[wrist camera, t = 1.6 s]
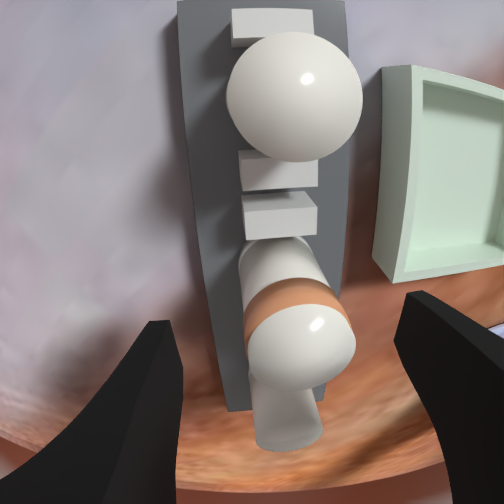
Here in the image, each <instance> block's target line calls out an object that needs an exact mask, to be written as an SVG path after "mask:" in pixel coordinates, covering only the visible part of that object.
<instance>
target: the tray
mask: <svg viewBox="0 0 504 504" xmlns="http://www.w3.org/2000/svg"><path fill="white" fill-rule="evenodd" d="M372 259H373V260H374V261H375V262H376V263H377V265H378V266H379V267H380V268H381V270H382V271H383V272H384V273H385V275H386V276H387V277H388V279H389V280H390V281H391V282H392V283H399V282H406V281H412V280H419V279H425V278H431V277H438V276H444V275H449V274H455V273H461V272H467V271H472V270H478V269H483V268H489V267H494V266H499V265H504V90H503V89H500V88H497V87H494V86H491V85H488V84H485V83H482V82H479V81H475V80H472V79H469V78H465V77H462V76H458V75H454V74H451V73H447V72H443V71H439V70H434V69H430V68H426V67H421V66H416V65H400V66H389V67H382V143H381V164H380V180H379V193H378V204H377V215H376V224H375V233H374V241H373V249H372Z"/></svg>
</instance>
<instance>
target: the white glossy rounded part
mask: <svg viewBox="0 0 504 504" xmlns="http://www.w3.org/2000/svg"><path fill="white" fill-rule="evenodd" d="M362 103H363V95H362V87H361V83H360V80H359V77H358V74H357V72H356V70H355V68H354V66H353V65H352V63H351V62H350V60H349V59H348V58H347V56H346V55H345V54H344V53H343V52H342V51H341V50H340V49H339V48H337V47H336V46H335V45H333V44H332V43H330V42H329V41H327V40H325V39H323V38H321V37H318V36H316V35H313V34H308V33H304V32H283V33H277V34H274V35H270V36H268V37H265V38H263V39H261V40H259V41H258V42H256V43H255V44H253V45H252V46H251V47H249V48H248V49H247V50H246V51H245V52H244V53H243V54H242V56H241V57H240V58H239V60H238V61H237V63H236V64H235V66H234V68H233V71H232V73H231V76H230V79H229V81H228V84H227V88H226V105H227V109H228V112H229V114H230V116H231V118H232V119H233V121H234V124H235V126H236V127H237V129H238V131H239V132H240V133H241V135H242V136H243V137H244V139H245V140H246V141H247V142H248V143H249V144H251V145H252V146H253V147H254V148H256V149H257V150H258V151H260V152H262V153H263V154H265V155H267V156H269V157H272V158H274V159H278V160H281V161H286V162H309V161H314V160H318V159H320V158H323V157H326V156H327V155H329V154H331V153H333V152H334V151H336V150H337V149H339V148H340V147H341V146H342V145H343V144H344V143H345V142H346V141H347V140H348V139H349V138H350V136H351V135H352V133H353V132H354V130H355V128H356V126H357V124H358V122H359V119H360V116H361V111H362Z"/></svg>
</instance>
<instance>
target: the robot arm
mask: <svg viewBox="0 0 504 504" xmlns="http://www.w3.org/2000/svg"><path fill="white" fill-rule="evenodd" d="M394 343H395V346H396V349H397V351H398V354H399V357H400V359H401V362H402V364H403V367H404V369H405V371H406V373H407V374H408V376H409V378H410V380H411V382H412V384H413V386H414V388H415V389H416V391H417V393H418V395H419V397H420V399H421V401H422V403H423V405H424V407H425V409H426V411H427V412H428V414H429V416H430V419H431V421H432V423H433V425H434V428H435V431H436V433H437V436H438V439H439V442H440V445H441V449H442V452H443V456H444V459H445V463H446V467H447V471H448V476H449V481H450V486H451V492H452V500H453V504H504V323H503V324H500V325H497V326H495V327H492V328H489V329H486V328H485V327H483V326H481V325H480V324H478V323H477V322H475V321H473V320H472V319H470V318H468V317H467V316H465V315H464V314H462V313H460V312H459V311H457V310H456V309H454V308H452V307H451V306H449V305H448V304H446V303H444V302H443V301H441V300H439V299H438V298H436V297H434V296H432V295H430V294H429V293H427V292H425V291H423V290H421V291H415V292H409V293H407V294H406V298H405V302H404V306H403V309H402V313H401V317H400V320H399V324H398V327H397V331H396V334H395V338H394ZM182 402H183V366H182V362H181V359H180V356H179V352H178V349H177V345H176V342H175V338H174V335H173V331H172V327H171V324H170V320H160V321H149V322H148V323H147V324H146V326H145V327H144V329H143V330H142V332H141V333H140V334H139V336H138V337H137V339H136V340H135V342H134V343H133V345H132V346H131V348H130V349H129V350H128V352H127V353H126V355H125V356H124V358H123V359H122V360H121V362H120V363H119V365H118V366H117V367H116V369H115V370H114V371H113V373H112V374H111V376H110V377H109V378H108V380H107V381H106V382H105V383H104V385H103V386H102V387H101V388H100V390H99V391H98V392H97V393H96V395H95V396H94V397H93V398H92V400H91V401H90V402H89V403H88V404H87V405H86V407H85V408H84V409H83V410H82V411H81V412H80V413H79V414H78V416H77V417H76V418H75V419H74V420H73V421H72V422H71V423H70V424H69V425H68V426H67V427H66V428H65V429H64V430H63V431H62V432H61V433H60V434H59V435H58V436H56V437H55V438H54V439H53V440H52V441H51V442H50V443H49V444H48V445H47V446H45V447H44V448H43V449H42V450H41V451H40V452H38V453H37V454H36V455H35V456H33V457H32V458H31V459H30V460H29V461H27V462H26V463H24V464H23V465H22V466H20V467H19V468H17V469H16V470H15V471H13V472H12V473H10V474H9V475H7V476H6V477H4V478H2V479H0V504H176V481H175V469H176V455H177V445H178V436H179V428H180V419H181V411H182Z"/></svg>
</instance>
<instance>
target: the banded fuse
mask: <svg viewBox="0 0 504 504" xmlns="http://www.w3.org/2000/svg"><path fill="white" fill-rule="evenodd" d="M238 268H239V276H240V283H241V293H242V303H243V312H244V316H243V331H244V341H245V351H246V357H247V359H248V362H249V367H250V370H251V373H252V375H253V376H254V378H255V379H256V380H257V381H259V382H260V383H261V384H263V385H265V386H266V387H269V388H272V389H275V390H280V391H301V390H306V389H310V388H314V387H317V386H320V385H322V384H324V383H326V382H328V381H330V380H331V379H333V378H334V377H336V376H337V375H338V374H340V373H341V372H342V371H343V370H344V369H345V368H346V367H347V365H348V364H349V363H350V361H351V359H352V357H353V355H354V352H355V348H356V340H355V336H354V334H353V332H352V327H351V323H350V321H349V319H348V317H347V315H346V313H345V311H344V309H343V307H342V305H341V303H340V301H339V299H338V297H337V295H336V294H335V292H334V291H333V290H332V289H331V288H330V286H329V284H328V282H327V280H326V278H325V276H324V274H323V272H322V271H321V269H320V267H319V265H318V263H317V261H316V259H315V257H314V255H313V252H312V251H311V249H310V247H309V245H308V243H307V241H306V240H305V239H304V237H303V236H292V237H280V238H268V239H256V240H246V242H245V243H244V244H243V246H242V248H241V250H240V253H239V257H238Z"/></svg>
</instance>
